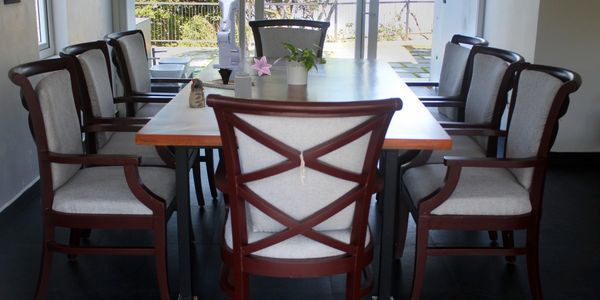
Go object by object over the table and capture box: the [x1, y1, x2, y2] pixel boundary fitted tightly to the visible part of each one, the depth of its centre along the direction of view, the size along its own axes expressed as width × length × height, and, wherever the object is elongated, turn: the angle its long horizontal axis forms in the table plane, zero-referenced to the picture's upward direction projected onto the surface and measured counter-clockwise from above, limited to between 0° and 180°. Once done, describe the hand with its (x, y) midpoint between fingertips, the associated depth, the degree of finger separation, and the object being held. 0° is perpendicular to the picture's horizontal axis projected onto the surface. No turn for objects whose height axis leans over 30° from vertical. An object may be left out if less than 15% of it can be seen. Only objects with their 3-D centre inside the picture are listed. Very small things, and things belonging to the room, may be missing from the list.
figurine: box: [188, 77, 207, 108], centre depth 296 cm, size 7×7×12 cm
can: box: [234, 71, 253, 99], centre depth 309 cm, size 8×8×12 cm
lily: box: [250, 55, 273, 77], centre depth 384 cm, size 12×12×10 cm
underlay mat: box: [203, 84, 256, 91], centre depth 348 cm, size 15×23×1 cm, turn 55°
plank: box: [202, 80, 235, 90], centre depth 345 cm, size 7×22×2 cm, turn 55°
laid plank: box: [211, 78, 255, 87], centre depth 351 cm, size 6×22×2 cm, turn 55°
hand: (225, 84), depth 342 cm, fingers closed, pressing on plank
